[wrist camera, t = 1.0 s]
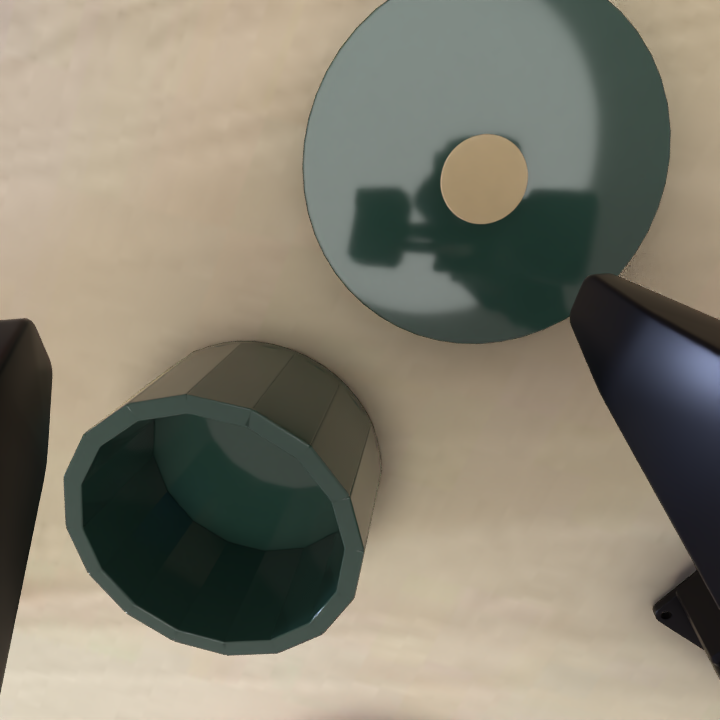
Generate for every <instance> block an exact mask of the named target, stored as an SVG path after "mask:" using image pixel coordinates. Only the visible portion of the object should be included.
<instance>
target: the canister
mask: <svg viewBox="0 0 720 720" xmlns="http://www.w3.org/2000/svg"><path fill="white" fill-rule="evenodd" d="M381 472H382V470H381V464H380V452H379V446H378V441H377V437H376V434H375V431H374V428H373V425H372V423H371V421H370V419H369V417H368V415H367V413H366V411H365V410H364V408H363V407H362V405H361V403H360V402H359V400H358V399H357V398H356V396H355V395H354V394H353V393H352V392H351V390H350V389H349V388H348V387H347V386H346V385H345V384H344V383H343V382H342V381H341V380H340V379H339V378H338V377H337V376H336V375H335V374H333V373H332V372H331V371H329V370H328V369H326V368H325V367H324V366H322V365H321V364H319V363H318V362H316V361H314V360H312V359H311V358H309V357H307V356H305V355H303V354H300V353H298V352H296V351H293V350H291V349H288V348H285V347H281V346H277V345H274V344H268V343H262V342H254V341H236V342H226V343H220V344H216V345H212V346H208V347H206V348H203V349H201V350H196V351H194V352H192V353H191V354H189V355H188V356H187V357H185V358H184V359H182V360H181V361H179V362H178V363H177V364H175V365H174V366H172V367H171V368H170V369H168V370H167V371H165V372H164V373H163V374H161V375H160V376H158V377H157V378H156V379H154V380H153V381H152V382H151V383H149V384H148V385H147V386H145V387H144V388H143V389H141V390H140V391H139V392H138V393H136V394H135V395H134V396H132V397H131V398H130V399H128V400H127V401H126V402H124V403H123V404H122V405H121V406H119V407H118V408H117V409H115V410H114V411H113V412H111V413H110V414H109V415H108V416H106V417H105V418H104V419H102V420H101V421H100V422H98V423H97V424H96V425H94V426H93V427H92V428H91V429H89V430H88V431H87V432H85V434H83V437H82V439H81V441H80V443H79V445H78V447H77V449H76V451H75V454H74V456H73V458H72V460H71V462H70V464H69V466H68V468H67V471H66V473H65V475H64V498H65V519H66V526H67V527H66V528H67V530H68V532H69V535H70V537H71V539H72V541H73V543H74V545H75V547H76V549H77V551H78V554H79V556H80V558H81V560H82V562H83V564H84V566H85V568H86V570H87V572H88V573H89V575H90V576H91V577H92V578H93V579H94V580H95V581H96V582H97V583H98V584H99V585H100V587H101V588H102V589H103V590H104V591H105V592H106V593H107V594H108V595H109V596H110V597H111V598H112V599H113V600H114V601H115V602H116V603H117V604H118V605H119V606H120V608H121V609H122V610H123V611H124V612H127V614H128V615H130V616H131V617H133V618H135V619H136V620H138V621H140V622H142V623H143V624H145V625H147V626H148V627H150V628H152V629H153V630H155V631H157V632H159V633H160V634H162V635H164V636H165V637H167V638H169V639H170V640H172V641H175V642H178V643H182V644H185V645H189V646H193V647H197V648H200V649H204V650H208V651H212V652H216V653H219V654H223V655H227V656H229V655H254V654H277V653H280V652H283V651H285V650H287V649H290V648H292V647H294V646H297V645H299V644H301V643H304V642H306V641H308V640H311V639H313V638H315V637H318V636H320V635H322V634H323V633H324V632H325V631H326V630H327V629H328V628H329V627H330V626H331V624H332V623H333V622H334V621H335V620H336V619H337V618H338V616H339V615H340V614H341V613H342V612H343V611H344V610H345V608H346V607H347V606H348V605H349V604H350V603H351V602H352V600H353V599H354V598H355V594H356V589H357V585H358V580H359V576H360V571H361V566H362V562H363V557H364V553H365V548H366V543H367V538H368V534H369V529H370V524H371V519H372V514H373V510H374V505H375V500H376V495H377V491H378V486H379V481H380V476H381Z"/></svg>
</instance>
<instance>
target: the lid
mask: <svg viewBox="0 0 720 720" xmlns="http://www.w3.org/2000/svg"><path fill="white" fill-rule="evenodd" d="M670 136H671V130H670V120H669V111H668V103H667V99H666V95H665V91H664V87H663V83H662V79H661V77H660V74H659V72H658V69H657V67H656V64H655V62H654V60H653V57H652V55H651V53H650V51H649V50H648V48H647V46H646V45H645V43H644V41H643V40H642V38H641V36H640V35H639V33H638V31H637V30H636V29H635V28H634V27H633V25H632V24H631V23H630V22H629V21H628V19H627V18H626V17H625V16H624V15H623V13H622V12H621V11H620V10H619V9H618V8H616V7H615V6H614V5H613V4H612V3H611V2H610V1H608V0H387V1H386V2H384V3H383V4H382V5H380V6H379V7H378V8H376V9H375V10H374V11H373V12H372V13H371V14H370V15H369V16H368V17H367V18H366V19H365V20H364V21H363V22H362V23H361V24H360V25H359V26H358V27H357V28H356V29H355V30H354V32H353V33H352V34H351V35H350V37H349V38H348V39H347V41H346V42H345V43H344V44H343V46H342V47H341V48H340V50H339V51H338V53H337V54H336V56H335V58H334V59H333V61H332V63H331V64H330V66H329V68H328V69H327V71H326V73H325V75H324V78H323V80H322V82H321V84H320V87H319V89H318V91H317V93H316V96H315V99H314V102H313V105H312V109H311V112H310V115H309V118H308V124H307V129H306V135H305V140H304V150H303V167H302V168H303V184H304V194H305V199H306V205H307V210H308V215H309V218H310V221H311V224H312V227H313V231H314V234H315V236H316V239H317V241H318V243H319V245H320V247H321V250H322V252H323V254H324V256H325V257H326V259H327V261H328V262H329V264H330V266H331V267H332V269H333V270H334V272H335V274H336V275H337V276H338V277H339V279H340V280H341V281H342V282H343V284H344V285H345V286H346V287H347V289H348V290H349V291H350V292H351V293H352V294H353V295H354V296H355V297H357V298H358V299H359V300H360V301H361V302H362V303H363V304H364V305H365V306H367V307H368V308H369V309H371V310H372V311H373V312H374V313H376V314H377V315H378V316H380V317H382V318H383V319H385V320H387V321H389V322H390V323H392V324H394V325H396V326H397V327H399V328H402V329H404V330H407V331H409V332H411V333H414V334H416V335H420V336H423V337H427V338H430V339H434V340H438V341H445V342H452V343H462V344H483V343H494V342H502V341H507V340H511V339H516V338H520V337H524V336H527V335H530V334H532V333H535V332H538V331H541V330H544V329H546V328H548V327H550V326H552V325H554V324H556V323H558V322H560V321H562V320H564V319H566V318H567V317H569V316H570V311H571V309H572V306H573V304H574V302H575V299H576V297H577V295H578V292H579V290H580V287H581V285H582V283H583V281H584V280H585V278H586V277H587V276H589V275H592V274H605V273H610V274H614V275H616V276H618V275H619V274H620V273H621V272H622V270H623V269H624V268H625V266H626V265H627V264H628V262H629V261H630V260H631V259H632V257H633V256H634V255H635V253H636V251H637V250H638V248H639V246H640V245H641V243H642V241H643V239H644V238H645V236H646V234H647V233H648V231H649V228H650V226H651V224H652V221H653V219H654V217H655V215H656V212H657V210H658V207H659V204H660V201H661V197H662V194H663V190H664V187H665V184H666V178H667V172H668V166H669V159H670Z"/></svg>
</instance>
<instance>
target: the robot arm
mask: <svg viewBox="0 0 720 720" xmlns="http://www.w3.org/2000/svg"><path fill="white" fill-rule="evenodd" d="M570 323H571V326H572V329H573V331H574V334H575V336H576V338H577V341H578V343H579V345H580V348H581V350H582V353H583V355H584V357H585V360H586V362H587V364H588V367H589V369H590V372H591V374H592V376H593V379H594V381H595V383H596V385H597V388H598V390H599V392H600V394H601V396H602V398H603V400H604V402H605V404H606V405H607V407H608V409H609V411H610V413H611V414H612V416H613V418H614V420H615V422H616V423H617V425H618V427H619V429H620V431H621V432H622V434H623V436H624V438H625V440H626V442H627V443H628V445H629V447H630V449H631V451H632V452H633V454H634V456H635V458H636V460H637V461H638V463H639V465H640V467H641V469H642V470H643V472H644V474H645V476H646V478H647V479H648V481H649V483H650V485H651V487H652V488H653V490H654V492H655V494H656V496H657V497H658V499H659V501H660V503H661V505H662V506H663V508H664V510H665V512H666V514H667V516H668V517H669V519H670V521H671V523H672V525H673V526H674V528H675V530H676V532H677V534H678V535H679V537H680V539H681V541H682V543H683V544H684V546H685V548H686V550H687V552H688V553H689V555H690V557H691V559H692V561H693V562H694V564H695V566H696V568H697V571H696V572H695V573H693V574H692V575H691V576H690V577H688V578H687V579H686V580H685V581H683V582H682V583H681V584H680V585H678V586H677V587H676V588H675V589H674V590H672V591H671V592H670V593H669V594H667V595H666V596H665V597H664V598H662V599H661V600H660V601H659V602H657V603H656V604H655V605H654V606H653V612H654V614H655V617H656V619H657V620H658V621H659V622H661V623H663V624H664V625H666V626H667V627H669V628H670V629H672V630H673V631H675V632H677V633H678V634H680V635H681V636H683V637H684V638H686V639H688V640H689V641H691V642H692V643H694V644H695V645H697V646H699V647H700V648H702V649H703V650H705V652H706V654H707V656H708V658H709V660H710V662H711V664H712V666H713V668H714V670H715V672H716V673H717V675H718V677H719V679H720V320H718V319H716V318H714V317H711V316H709V315H707V314H704V313H702V312H700V311H697V310H695V309H693V308H690V307H688V306H686V305H683V304H681V303H679V302H676V301H674V300H672V299H669V298H667V297H665V296H663V295H660V294H658V293H656V292H653V291H651V290H649V289H646V288H644V287H642V286H639V285H637V284H635V283H632V282H630V281H628V280H625V279H623V278H621V277H619V276H616V275H614V274H610V273H605V274H592V275H589V276H587V277H586V278H585V280H584V281H583V283H582V285H581V287H580V290H579V292H578V295H577V297H576V299H575V302H574V304H573V306H572V309H571V311H570ZM51 390H52V366H51V362H50V359H49V357H48V354H47V352H46V350H45V347H44V345H43V343H42V340H41V338H40V336H39V333H38V331H37V329H36V327H35V325H34V324H33V322H32V321H31V320H29V319H26V318H23V319H9V320H0V693H1V688H2V683H3V678H4V673H5V668H6V663H7V658H8V653H9V649H10V644H11V639H12V634H13V629H14V624H15V619H16V614H17V609H18V604H19V599H20V595H21V590H22V585H23V580H24V575H25V570H26V565H27V560H28V555H29V550H30V546H31V541H32V536H33V531H34V526H35V521H36V516H37V511H38V506H39V501H40V496H41V492H42V487H43V482H44V476H45V470H46V464H47V453H48V438H49V422H50V406H51ZM666 611H668V612H666ZM663 612H666V613H663Z"/></svg>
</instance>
